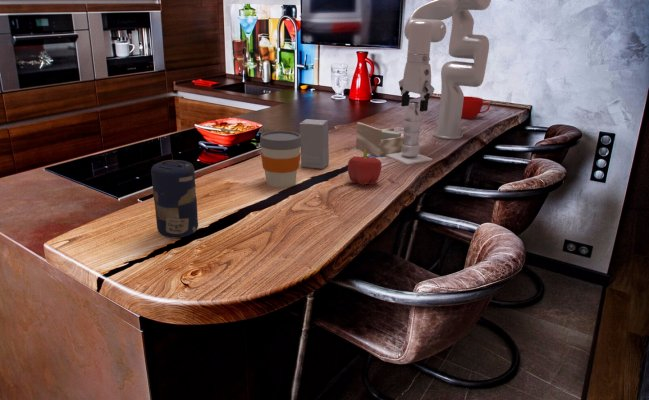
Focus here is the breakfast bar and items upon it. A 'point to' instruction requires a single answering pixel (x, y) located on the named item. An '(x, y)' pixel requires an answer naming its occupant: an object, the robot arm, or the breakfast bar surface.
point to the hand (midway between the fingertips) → (414, 108)
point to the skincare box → (314, 143)
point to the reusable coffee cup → (280, 157)
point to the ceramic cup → (472, 107)
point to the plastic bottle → (411, 130)
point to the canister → (175, 198)
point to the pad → (408, 158)
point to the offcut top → (390, 134)
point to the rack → (376, 141)
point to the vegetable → (364, 169)
